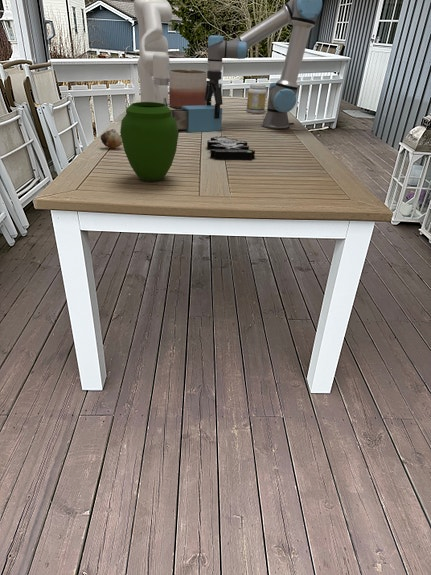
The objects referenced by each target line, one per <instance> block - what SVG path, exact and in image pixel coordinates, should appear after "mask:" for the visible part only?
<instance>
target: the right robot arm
mask: <svg viewBox="0 0 431 575" xmlns="http://www.w3.org/2000/svg"><path fill="white" fill-rule="evenodd" d="M322 8H323V0H289V1H288V2H286V3H284V4H283V5H282V8H281V9H279V10H278V11H276V12H274V13H273V14H272V15H269V16H268V17H266V18H265V19H263V20H262V21H260V22H259V23H257V24H256V25H254V26H252V27H251V28H250V29H248V30H246V31H245V32H243V33H241V34H239V35H238V36H237V37H235V38H233V39H231V40H225V39H224V36H223V35H214V34H213V35H212V34H211V35H209V36H208V38H207V40H208V42H207V63H206V66H207V71H206V72H207V79H208V80H207V82H206V92H205V98H204V99H205V100H206V105H212V102H213V101H212V98H213V97H214V105H215V113H214V119H219V117H220V108H221V106H222V105H223V90H222V88H223V86H222V85H223V83H220V82H219V81H220V80H222V74H223V73H222V70H223V59H235V60H245V59H246V58H247V53H248V52H247V51H248V50H249V49H250V48H252V47H253V46H255V45H257V44H259V43H260V42H261V41H264V40H265V39H266V38H268V37H270V36H271V35H273V34H274V33H276V32H278V31H280V30H281V29H283V28H285V27H286V26H288V25H293V26H292V30H291V32H290V33H291V34H290V38H289V42H288V46H287V49H286V54H285V57H284V62H283V66H282V70H281V74H280V78H279V79H278V80H277V81H276V82H271V83H270V84H269V88H268V98H267V107H266V108H267V109H266V114H265V117H263V121H262V127H263V128H266V129H272V130H287V129H289V127H290V125H294V124H295V122H289V116H288V112H290V111H292V110H293V109H294V108H295V106H296V103H297V93H298V89H299V85H298V83H297V81H298V77H299V73H300V70H301V67H302V62H303V59H304V55H305V51H306V49H307V48H306V47H307V44H308V40H309V36H310V33H311V30H312V28H314V27H315V25H316V23H317V19H318V16H319V15H320V13H321V12H322Z"/></svg>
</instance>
